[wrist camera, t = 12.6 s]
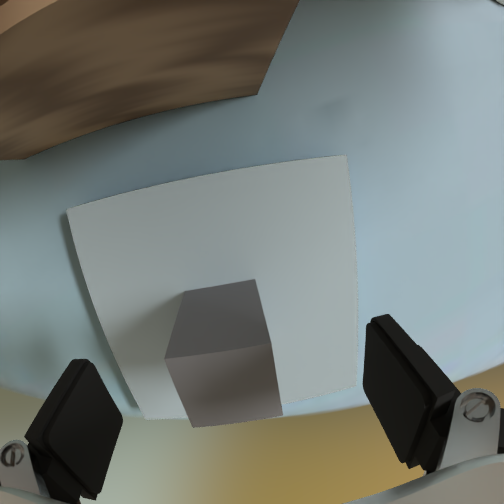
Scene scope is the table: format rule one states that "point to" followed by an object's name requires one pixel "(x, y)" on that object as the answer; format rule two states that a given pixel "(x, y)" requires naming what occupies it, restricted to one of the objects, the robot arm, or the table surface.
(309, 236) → the lid
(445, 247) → the table surface
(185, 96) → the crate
